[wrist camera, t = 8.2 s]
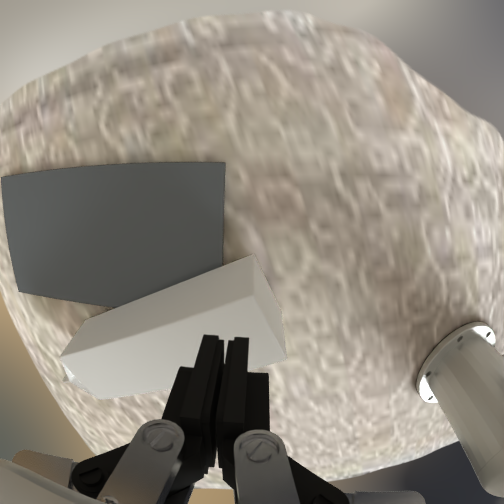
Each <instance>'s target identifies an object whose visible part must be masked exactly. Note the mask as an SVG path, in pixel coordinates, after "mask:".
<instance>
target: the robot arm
mask: <svg viewBox="0 0 504 504" xmlns="http://www.w3.org/2000/svg"><path fill="white" fill-rule="evenodd" d="M494 347H495V334H494V332H493V330H492V329H491V328H490V327H489V326H488V325H487V324H485V323H484V322H472V323H469V324H466V325H464V326H462V327H460V328H458V329H457V330H455V331H454V332H452V333H451V334H449V335H448V336H447V337H446V338H445V339H444V340H442V341H441V342H440V343H439V344H438V346H437V347H436V348H435V349H434V350H433V351H432V352H431V354H430V355H429V356H428V358H427V359H426V361H425V362H424V364H423V366H422V368H421V370H420V372H419V374H418V378H417V383H416V387H417V391H418V393H419V395H420V397H421V398H422V399H423V400H424V401H426V402H430V403H439V405H440V407H441V408H442V410H443V412H444V414H445V415H446V417H447V419H448V421H449V423H450V424H451V426H452V428H453V430H454V432H455V434H456V435H457V437H458V439H459V441H460V443H461V445H462V447H463V448H464V451H465V452H466V454H467V456H468V458H469V460H470V462H471V464H472V466H473V468H474V470H475V473H476V475H477V477H478V479H479V481H480V483H481V485H482V486H483V488H484V489H485V490H486V491H487V492H488V493H490V494H492V495H495V496H499V497H504V355H500V353H499V352H498V351H497V350H496V349H495V348H494ZM248 353H249V337H234V340H228V346H227V352H226V358H225V364H224V340H221V339H219V336H218V335H207V334H204V335H203V338H202V341H201V344H200V348H199V351H198V354H197V358H196V361H195V365H194V368H193V367H184V366H180V367H179V370H178V372H177V375H176V378H175V381H174V384H173V387H172V390H171V392H170V395H169V398H168V401H167V404H166V407H165V410H164V413H163V416H162V419H158V420H152V421H149V422H147V423H145V424H143V425H142V426H141V427H140V428H139V430H138V431H137V433H136V434H135V436H134V438H133V439H132V441H131V443H129V444H126V445H124V446H121V447H119V448H116V449H114V450H111V451H108V452H106V453H103V454H100V455H98V456H95V457H92V458H89V459H87V460H84V461H82V462H80V463H78V462H74V461H73V459H68V458H61V457H57V456H53V455H48V454H43V453H39V452H36V451H31V450H21V451H19V452H18V453H16V454H15V456H14V457H13V459H12V462H10V461H7V460H4V459H1V458H0V504H188V502H189V499H190V496H191V494H192V491H193V489H194V485H195V482H197V481H199V480H200V479H202V478H204V474H208V468H209V467H214V466H215V459H216V452H217V451H218V464H219V468H222V472H223V480H224V481H225V482H226V483H227V484H228V485H229V486H230V487H231V488H232V489H233V492H234V500H235V504H425V500H424V498H423V497H422V496H421V494H419V493H417V492H415V491H394V492H357V491H356V492H354V493H343V492H342V491H341V490H339V489H338V488H336V487H334V486H333V485H331V484H329V483H328V482H326V481H325V480H323V479H321V478H320V477H318V476H317V475H315V474H314V473H312V472H311V471H309V470H308V469H306V468H305V467H303V466H302V465H300V464H299V463H297V462H296V461H294V460H293V459H292V458H290V457H289V456H287V452H286V448H285V445H284V443H283V441H282V439H281V438H280V437H279V436H278V435H276V434H274V433H272V432H270V415H269V374H268V373H254V372H247V371H248Z"/></svg>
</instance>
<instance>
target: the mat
mask: <svg viewBox="0 0 504 504" xmlns="http://www.w3.org/2000/svg"><path fill="white" fill-rule="evenodd" d="M1 185H2V199H3V209H4V218H5V226H6V233H7V239H8V245H9V250H10V256H11V261H12V265H13V270H14V274H15V279H16V283H17V287H18V290H19V292H23V293H28V294H33V295H38V296H44V297H49V298H55V299H61V300H67V301H73V302H79V303H86V304H93V305H100V306H107V307H114V308H117V307H120V306H122V305H125V304H127V303H130V302H133V301H135V300H138V299H140V298H143V297H145V296H148V295H150V294H153V293H156V292H158V291H161V290H163V289H166V288H168V287H171V286H173V285H176V284H178V283H181V282H183V281H186V280H189V279H191V278H194V277H196V276H199V275H201V274H204V273H206V272H209V271H211V270H214V269H217V268H219V267H222V266H223V224H224V188H225V163H219V162H159V163H130V164H112V165H97V166H85V167H74V168H64V169H55V170H46V171H39V172H31V173H24V174H18V175H11V176H5V177H1Z"/></svg>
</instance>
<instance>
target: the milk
mask: <svg viewBox="0 0 504 504" xmlns="http://www.w3.org/2000/svg"><path fill="white" fill-rule="evenodd" d="M204 334H207V335H218V336H219V339H221V340H224V364H225V358H226V352H227V346H228V340H234V337H249V353H248V371H250V370H253V369H257V368H260V367H264V366H267V365H271V364H274V363H277V362H281V361H284V360H286V359H287V353H286V344H285V336H284V327H283V318H282V311H281V309H280V307H279V305H278V302H277V300H276V298H275V296H274V294H273V292H272V290H271V288H270V286H269V284H268V282H267V280H266V277H265V275H264V273H263V271H262V269H261V267H260V265H259V263H258V261H257V259H256V257H255V255H254V254H252V255H249V256H247V257H244V258H242V259H239V260H237V261H234V262H232V263H229V264H227V265H224V266H222V267H219V268H217V269H214V270H211V271H209V272H206V273H204V274H201V275H199V276H196V277H194V278H191V279H189V280H186V281H183V282H181V283H178V284H176V285H173V286H171V287H168V288H166V289H163V290H161V291H158V292H156V293H153V294H150V295H148V296H145V297H143V298H140V299H138V300H135V301H133V302H130V303H127V304H125V305H122V306H120V307H117V308H115V309H112V310H110V311H107V312H104V313H102V314H99V315H97V316H94V317H92V318H89V319H87V320H85V321H84V323H83V324H82V326H81V327H80V328H79V330H78V331H77V333H76V334H75V335H74V337H73V338H72V340H71V341H70V342H69V344H68V345H67V347H66V348H65V350H64V351H63V353H62V354H61V356H60V360H61V362H62V365H63V367H64V369H65V372H66V376H65V377H64V379H63V383H66V382H71V383H73V384H74V385H76V386H77V387H79V388H80V389H82V390H84V391H85V392H87V393H88V394H90V395H92V396H93V397H95V398H97V399H99V400H102V399H110V398H118V397H125V396H132V395H139V394H145V393H151V392H157V391H162V390H168V389H172V387H173V384H174V381H175V378H176V375H177V372H178V370H179V367H180V366H184V367H193V368H194V365H195V361H196V358H197V354H198V351H199V348H200V344H201V341H202V338H203V335H204Z"/></svg>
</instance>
